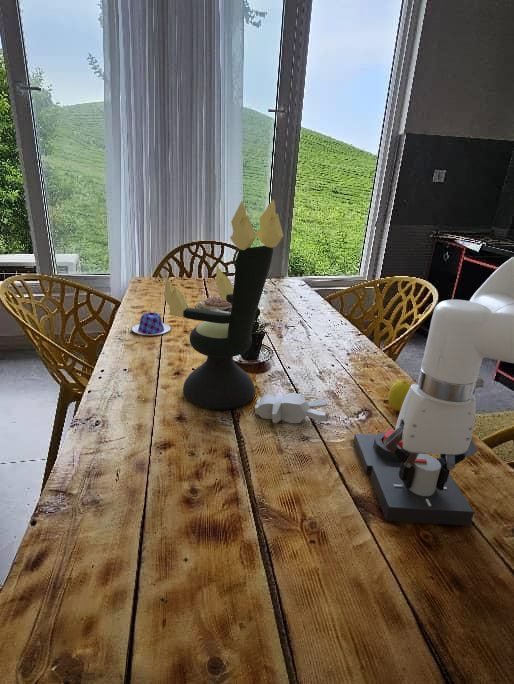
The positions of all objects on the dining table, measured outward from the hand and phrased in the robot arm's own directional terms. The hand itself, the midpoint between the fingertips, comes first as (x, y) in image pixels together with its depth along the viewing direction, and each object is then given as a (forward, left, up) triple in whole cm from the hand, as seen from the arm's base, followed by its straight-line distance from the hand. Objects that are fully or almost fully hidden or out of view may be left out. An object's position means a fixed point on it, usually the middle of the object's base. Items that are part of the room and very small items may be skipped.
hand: (421, 482), depth 72 cm
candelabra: (+33, -32, -4) cm, 46 cm away
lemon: (-6, -29, -4) cm, 30 cm away
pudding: (+59, -72, -4) cm, 93 cm away
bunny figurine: (+19, -24, -4) cm, 31 cm away
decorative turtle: (+40, -96, -4) cm, 104 cm away
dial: (0, 0, -1) cm, 1 cm away
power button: (+1, -11, 0) cm, 11 cm away
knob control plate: (0, 0, -4) cm, 4 cm away
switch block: (+1, -11, -4) cm, 12 cm away
